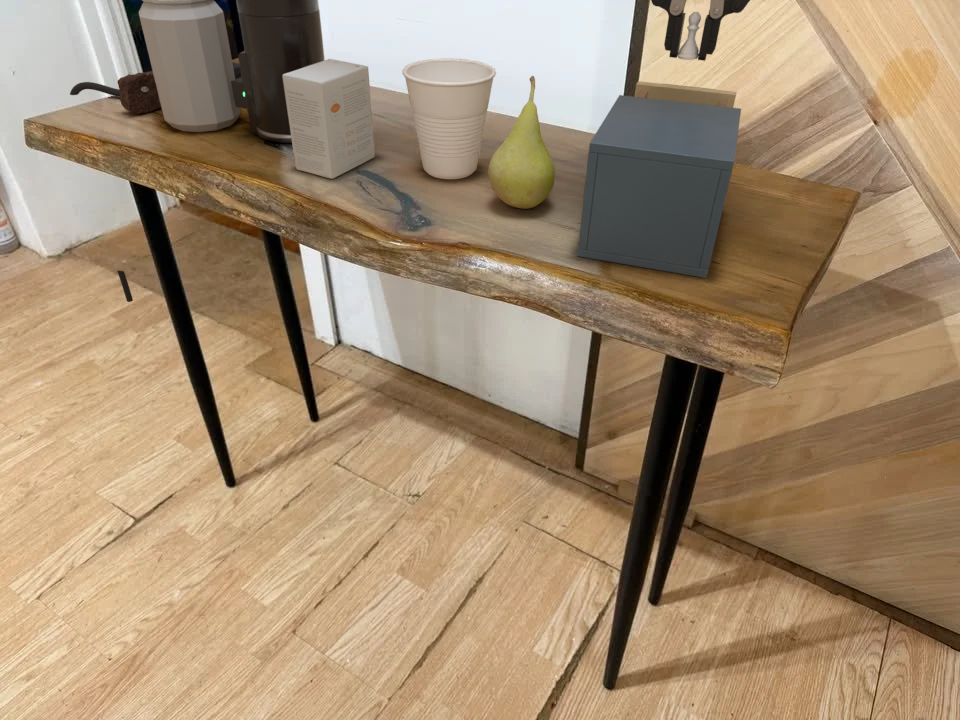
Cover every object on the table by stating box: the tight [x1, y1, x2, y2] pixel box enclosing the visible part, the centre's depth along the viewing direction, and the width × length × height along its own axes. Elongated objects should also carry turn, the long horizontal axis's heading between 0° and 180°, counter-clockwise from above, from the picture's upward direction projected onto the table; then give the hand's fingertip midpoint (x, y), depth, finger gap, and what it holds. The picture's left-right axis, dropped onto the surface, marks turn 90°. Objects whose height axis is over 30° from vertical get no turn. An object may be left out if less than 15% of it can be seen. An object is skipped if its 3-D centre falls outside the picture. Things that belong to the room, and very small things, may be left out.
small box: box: [282, 58, 376, 180], centre depth 79 cm, size 8×6×10 cm
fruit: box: [488, 75, 556, 210], centre depth 71 cm, size 7×8×12 cm
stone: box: [117, 70, 162, 114], centre depth 96 cm, size 8×3×5 cm, turn 147°
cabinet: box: [576, 94, 742, 279], centre depth 66 cm, size 15×12×11 cm
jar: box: [138, 0, 242, 133], centre depth 88 cm, size 10×10×18 cm
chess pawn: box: [677, 11, 702, 61], centre depth 68 cm, size 3×2×4 cm
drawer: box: [634, 80, 737, 108], centre depth 75 cm, size 18×10×9 cm, turn 161°
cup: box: [401, 57, 497, 180], centre depth 78 cm, size 10×10×11 cm
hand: (688, 56), depth 69 cm, fingers closed on chess pawn, 2 cm apart
